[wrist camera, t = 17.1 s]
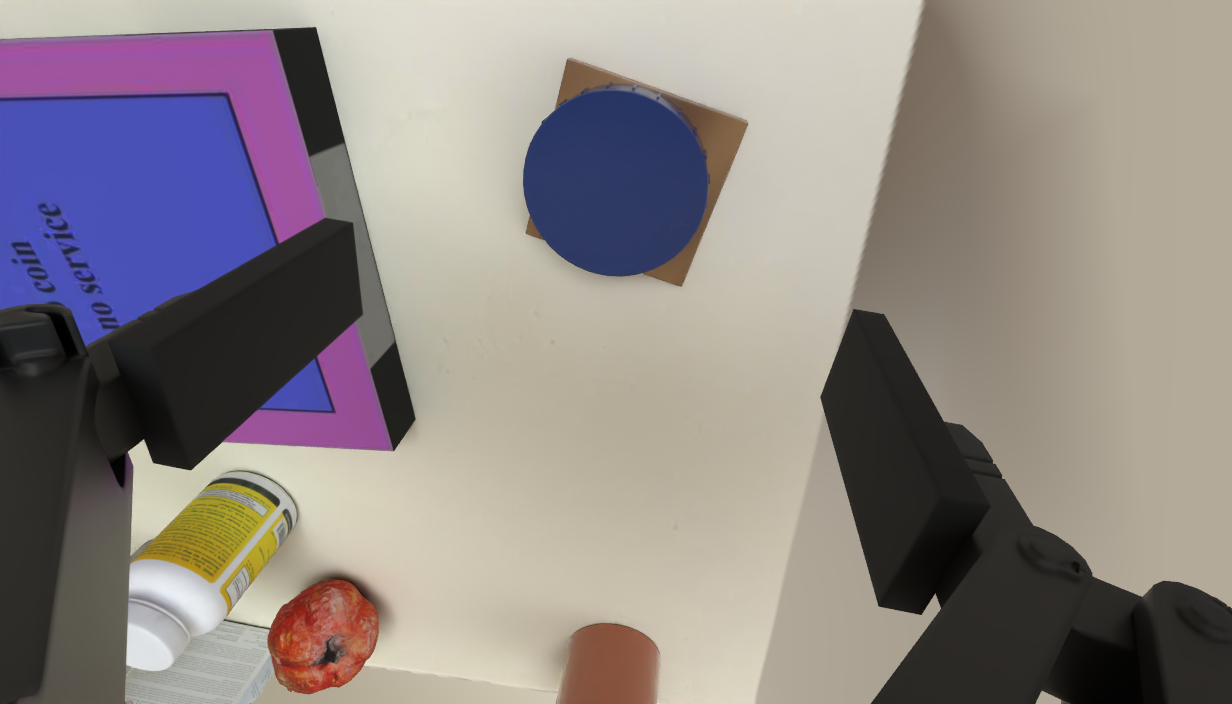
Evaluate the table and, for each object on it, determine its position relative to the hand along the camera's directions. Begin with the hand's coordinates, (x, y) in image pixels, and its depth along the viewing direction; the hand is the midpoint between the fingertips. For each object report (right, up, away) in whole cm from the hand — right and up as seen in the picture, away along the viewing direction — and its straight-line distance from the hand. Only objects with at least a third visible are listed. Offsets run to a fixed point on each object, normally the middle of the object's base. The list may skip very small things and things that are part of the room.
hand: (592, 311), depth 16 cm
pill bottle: (-25, -11, +26) cm, 38 cm away
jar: (0, -24, +30) cm, 39 cm away
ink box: (-32, -24, +35) cm, 53 cm away
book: (-27, +4, +17) cm, 32 cm away
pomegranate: (-20, -20, +31) cm, 42 cm away
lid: (+1, +6, +10) cm, 11 cm away
